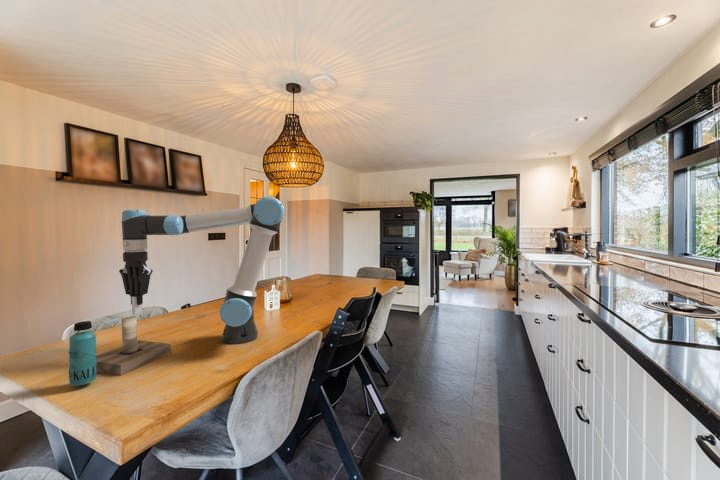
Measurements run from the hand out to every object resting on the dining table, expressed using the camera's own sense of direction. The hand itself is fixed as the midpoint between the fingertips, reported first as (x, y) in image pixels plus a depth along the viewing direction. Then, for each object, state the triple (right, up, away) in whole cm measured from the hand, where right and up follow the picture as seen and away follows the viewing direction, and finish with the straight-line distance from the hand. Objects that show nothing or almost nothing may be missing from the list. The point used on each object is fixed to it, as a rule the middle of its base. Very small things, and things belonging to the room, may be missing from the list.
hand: (137, 313), depth 117 cm
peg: (-1, -17, -2) cm, 17 cm away
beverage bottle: (-2, -18, -21) cm, 28 cm away
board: (-1, -17, -2) cm, 17 cm away
